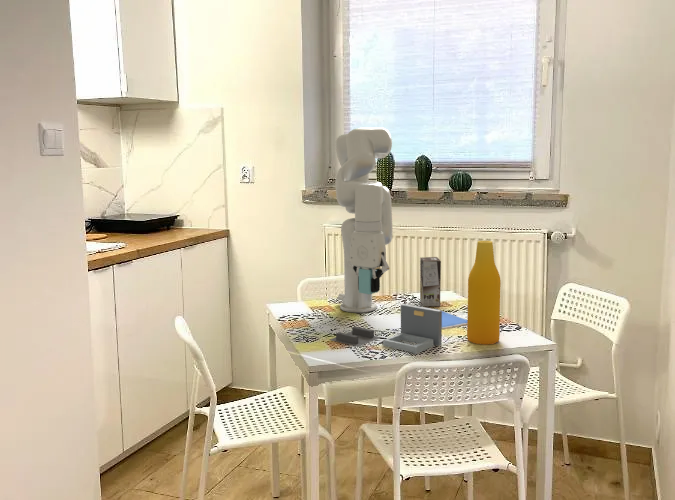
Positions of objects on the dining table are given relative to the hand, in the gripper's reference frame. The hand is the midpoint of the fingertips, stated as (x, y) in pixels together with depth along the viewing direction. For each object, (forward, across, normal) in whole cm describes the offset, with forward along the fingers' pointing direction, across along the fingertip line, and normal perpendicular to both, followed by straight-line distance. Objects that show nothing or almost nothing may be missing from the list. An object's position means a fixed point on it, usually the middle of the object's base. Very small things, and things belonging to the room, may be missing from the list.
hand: (368, 289), depth 196 cm
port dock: (+16, +11, +5) cm, 20 cm away
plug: (+1, 0, 0) cm, 1 cm away
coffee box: (+15, -12, +50) cm, 54 cm away
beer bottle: (+16, +25, +22) cm, 37 cm away
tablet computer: (+16, +2, +33) cm, 37 cm away
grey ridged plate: (+15, -4, -1) cm, 16 cm away
